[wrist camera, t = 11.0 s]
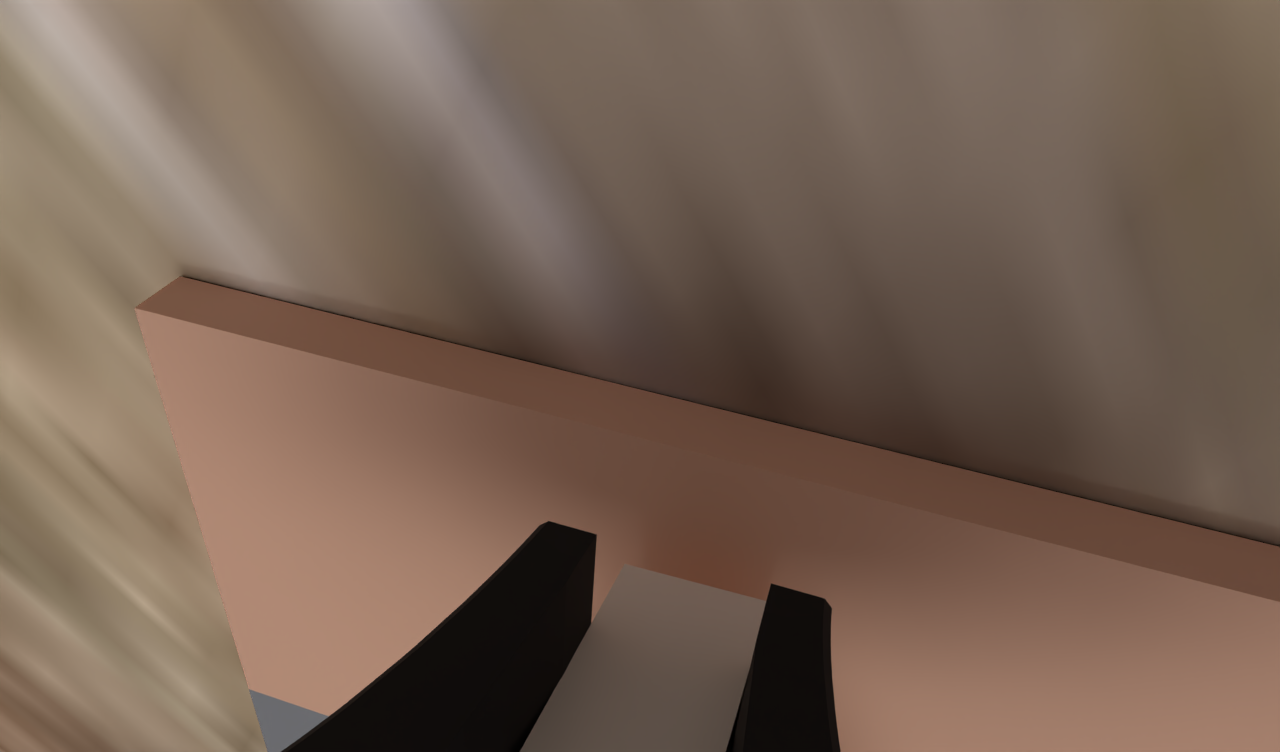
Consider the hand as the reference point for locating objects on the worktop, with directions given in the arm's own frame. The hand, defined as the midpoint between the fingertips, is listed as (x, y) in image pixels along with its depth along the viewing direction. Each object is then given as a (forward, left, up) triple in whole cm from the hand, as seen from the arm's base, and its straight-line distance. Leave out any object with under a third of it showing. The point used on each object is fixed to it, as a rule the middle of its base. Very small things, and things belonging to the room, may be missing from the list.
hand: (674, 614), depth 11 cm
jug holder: (0, +9, -3) cm, 9 cm away
